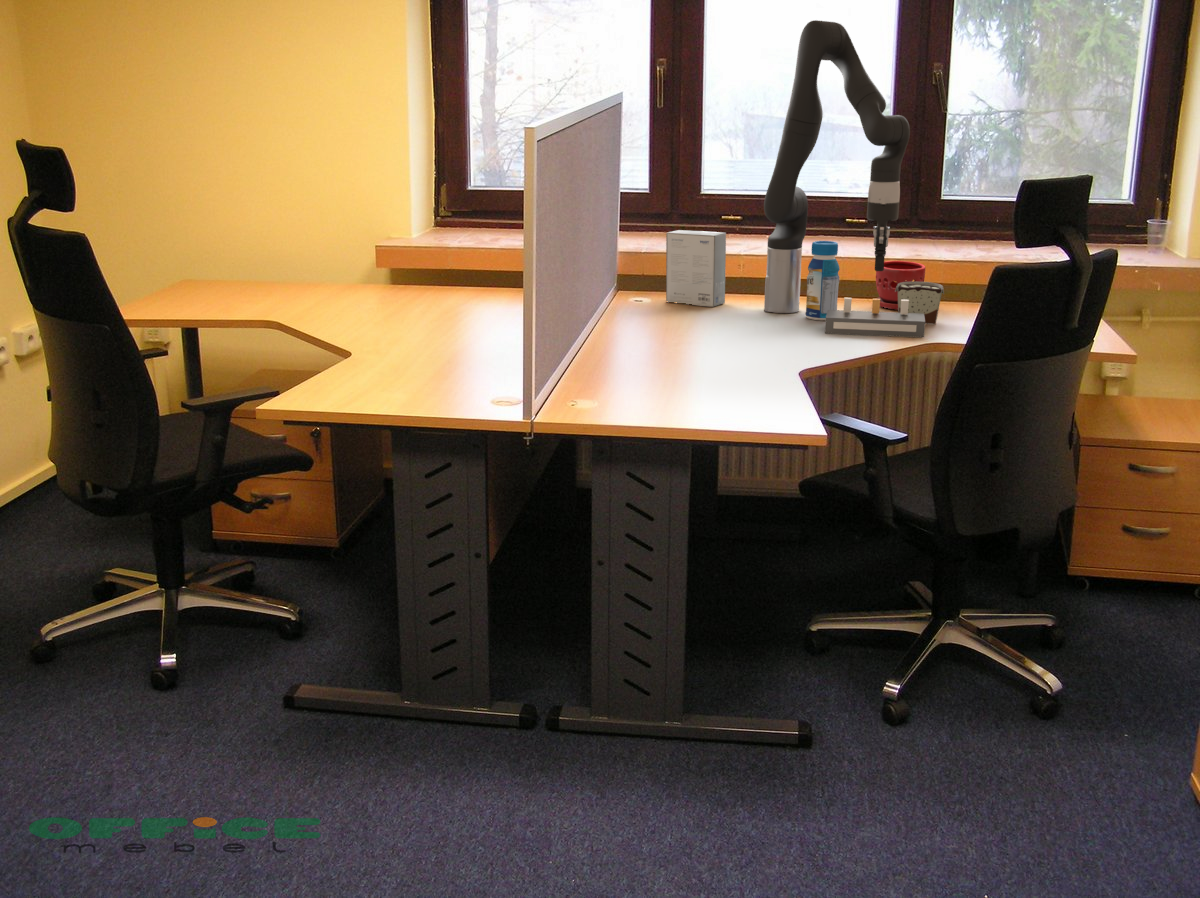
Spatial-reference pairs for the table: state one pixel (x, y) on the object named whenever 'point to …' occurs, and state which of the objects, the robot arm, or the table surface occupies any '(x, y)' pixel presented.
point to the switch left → (847, 304)
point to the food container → (921, 298)
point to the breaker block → (875, 323)
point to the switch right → (904, 307)
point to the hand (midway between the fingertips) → (879, 270)
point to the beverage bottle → (822, 280)
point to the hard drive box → (695, 267)
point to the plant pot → (897, 273)
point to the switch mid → (875, 306)
